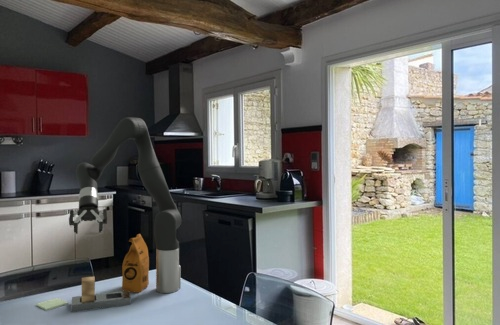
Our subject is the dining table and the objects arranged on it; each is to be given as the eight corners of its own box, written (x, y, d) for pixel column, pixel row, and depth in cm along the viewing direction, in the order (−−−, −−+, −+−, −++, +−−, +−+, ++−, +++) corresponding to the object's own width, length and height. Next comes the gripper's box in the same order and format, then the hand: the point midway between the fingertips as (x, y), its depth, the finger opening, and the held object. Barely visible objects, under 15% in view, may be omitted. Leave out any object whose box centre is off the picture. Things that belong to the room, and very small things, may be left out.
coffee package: (117, 292, 156) (118, 238, 156) (130, 283, 168) (130, 233, 168) (141, 293, 155) (141, 239, 155) (152, 284, 167) (152, 233, 167)
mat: (57, 299, 148) (57, 297, 148) (68, 304, 143) (68, 302, 143) (35, 305, 141) (35, 303, 141) (46, 310, 137) (46, 308, 137)
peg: (94, 303, 144) (94, 276, 144) (94, 307, 140) (94, 279, 140) (81, 304, 143) (81, 277, 143) (81, 308, 139) (81, 281, 139)
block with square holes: (127, 296, 151) (127, 290, 151) (130, 304, 143) (130, 297, 143) (72, 303, 144) (72, 296, 144) (71, 312, 135) (71, 305, 135)
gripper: (69, 194, 158) (68, 227, 147) (106, 194, 163) (108, 225, 153) (70, 206, 162) (68, 238, 152) (106, 205, 168) (107, 236, 157)
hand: (88, 231), depth 152 cm, fingers open, 8 cm apart
